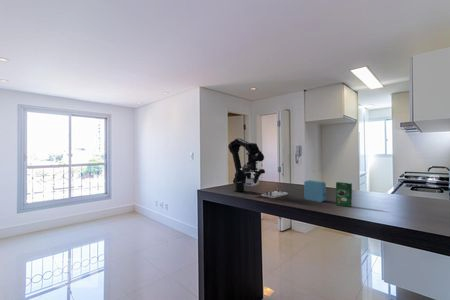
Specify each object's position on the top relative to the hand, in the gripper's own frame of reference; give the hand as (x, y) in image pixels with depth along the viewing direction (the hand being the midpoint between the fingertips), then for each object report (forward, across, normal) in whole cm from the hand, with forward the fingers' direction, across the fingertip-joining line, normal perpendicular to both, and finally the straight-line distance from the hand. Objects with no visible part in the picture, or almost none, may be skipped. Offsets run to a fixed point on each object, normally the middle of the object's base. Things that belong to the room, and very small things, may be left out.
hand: (252, 182), depth 159 cm
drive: (+1, 0, 0) cm, 1 cm away
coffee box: (+9, +56, +14) cm, 58 cm away
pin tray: (+9, +11, +11) cm, 18 cm away
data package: (+9, +38, +16) cm, 42 cm away
